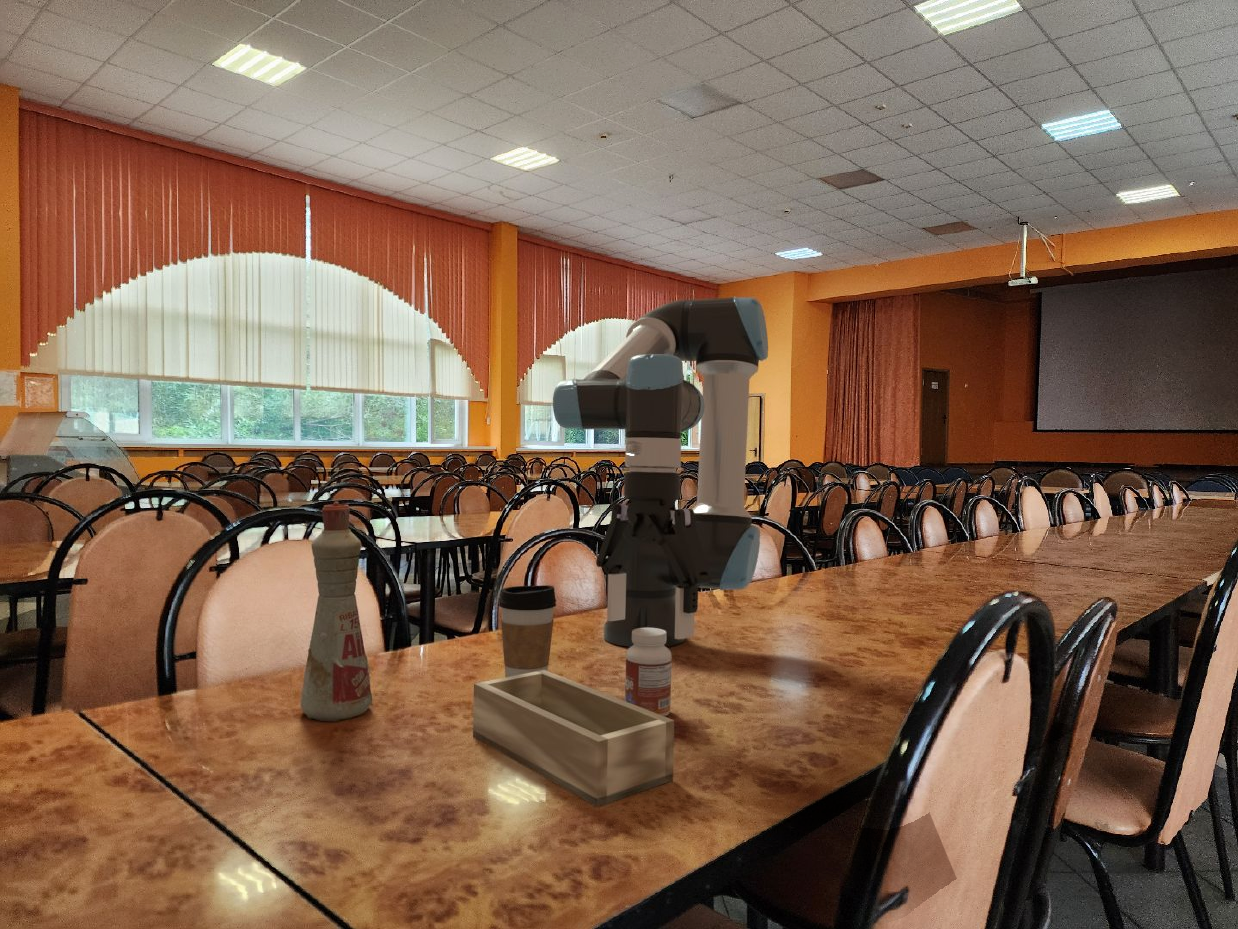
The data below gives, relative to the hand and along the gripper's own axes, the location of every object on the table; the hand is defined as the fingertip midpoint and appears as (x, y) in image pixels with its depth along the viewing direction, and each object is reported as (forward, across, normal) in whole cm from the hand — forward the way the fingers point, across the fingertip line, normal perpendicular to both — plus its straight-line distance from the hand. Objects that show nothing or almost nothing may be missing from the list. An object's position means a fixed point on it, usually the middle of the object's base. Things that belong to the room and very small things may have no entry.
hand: (648, 628), depth 107 cm
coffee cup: (+12, -19, -6) cm, 23 cm away
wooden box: (+12, +6, -18) cm, 22 cm away
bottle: (+12, -25, -32) cm, 43 cm away
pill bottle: (+12, 0, 0) cm, 12 cm away
